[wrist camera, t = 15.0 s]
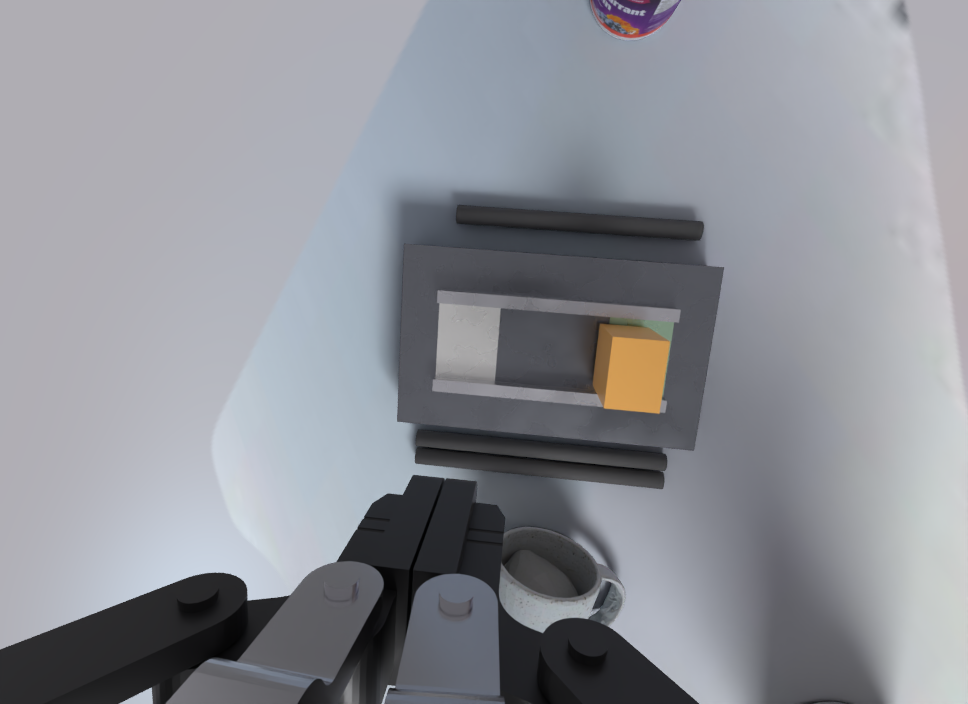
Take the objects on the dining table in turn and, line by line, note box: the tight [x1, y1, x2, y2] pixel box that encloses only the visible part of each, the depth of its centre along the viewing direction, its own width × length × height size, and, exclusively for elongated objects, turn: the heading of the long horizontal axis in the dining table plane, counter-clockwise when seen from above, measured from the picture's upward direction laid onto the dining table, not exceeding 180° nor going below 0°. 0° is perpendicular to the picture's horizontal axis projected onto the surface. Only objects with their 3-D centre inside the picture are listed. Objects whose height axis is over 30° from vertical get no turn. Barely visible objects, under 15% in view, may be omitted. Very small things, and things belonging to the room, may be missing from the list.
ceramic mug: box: [499, 527, 625, 633], centre depth 36 cm, size 11×8×8 cm
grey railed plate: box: [415, 205, 704, 489], centre depth 36 cm, size 18×19×1 cm
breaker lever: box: [593, 324, 670, 414], centre depth 30 cm, size 3×4×5 cm
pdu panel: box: [397, 244, 724, 451], centre depth 34 cm, size 20×12×4 cm, turn 86°
